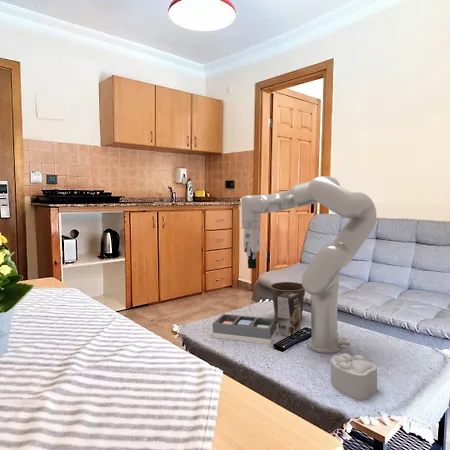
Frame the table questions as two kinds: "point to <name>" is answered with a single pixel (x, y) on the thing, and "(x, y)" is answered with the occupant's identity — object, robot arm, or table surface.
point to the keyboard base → (245, 338)
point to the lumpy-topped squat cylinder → (353, 376)
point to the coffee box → (289, 313)
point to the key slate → (244, 323)
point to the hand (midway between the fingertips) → (252, 268)
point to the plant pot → (283, 288)
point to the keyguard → (245, 330)
